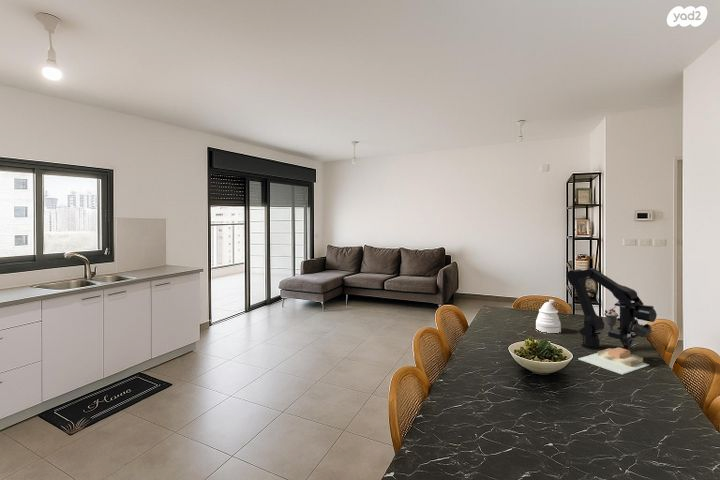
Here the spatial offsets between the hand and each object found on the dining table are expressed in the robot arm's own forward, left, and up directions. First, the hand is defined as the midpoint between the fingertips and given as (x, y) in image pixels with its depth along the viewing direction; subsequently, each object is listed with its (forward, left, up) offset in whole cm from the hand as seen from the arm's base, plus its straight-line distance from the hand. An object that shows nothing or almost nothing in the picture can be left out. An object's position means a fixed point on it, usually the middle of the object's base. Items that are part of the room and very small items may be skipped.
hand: (627, 350), depth 166 cm
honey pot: (-45, +5, -4) cm, 45 cm away
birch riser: (0, -6, -4) cm, 7 cm away
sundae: (-25, +30, -4) cm, 39 cm away
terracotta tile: (0, -6, -1) cm, 6 cm away
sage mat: (0, -11, -4) cm, 11 cm away
